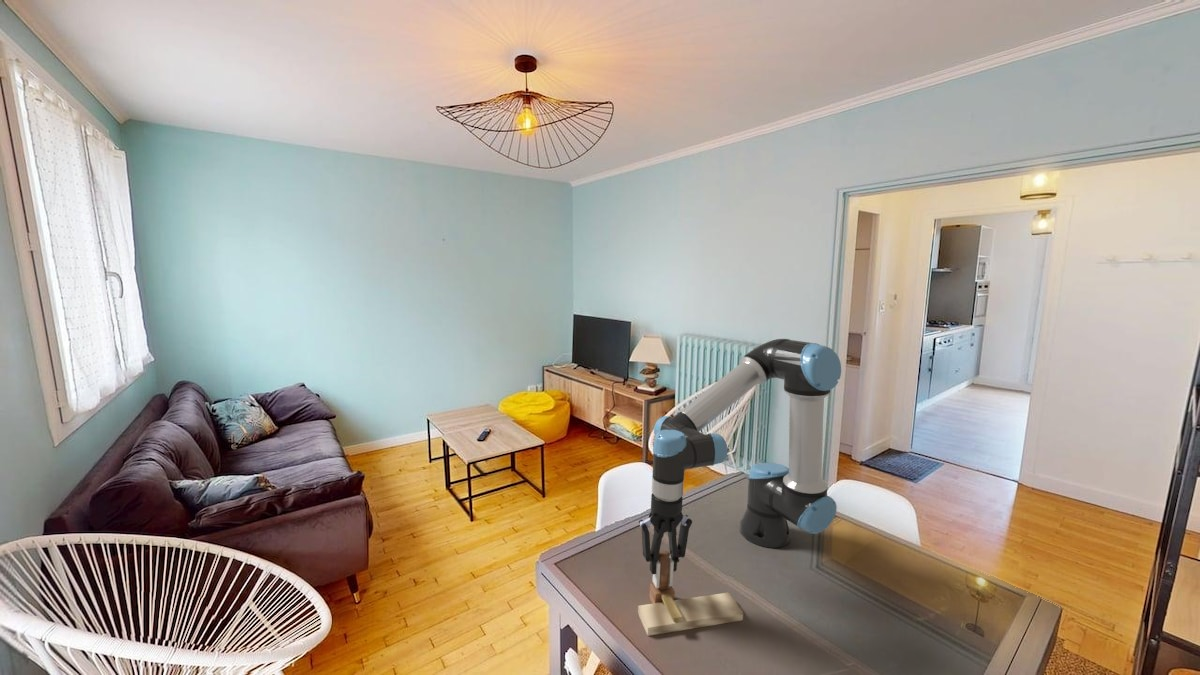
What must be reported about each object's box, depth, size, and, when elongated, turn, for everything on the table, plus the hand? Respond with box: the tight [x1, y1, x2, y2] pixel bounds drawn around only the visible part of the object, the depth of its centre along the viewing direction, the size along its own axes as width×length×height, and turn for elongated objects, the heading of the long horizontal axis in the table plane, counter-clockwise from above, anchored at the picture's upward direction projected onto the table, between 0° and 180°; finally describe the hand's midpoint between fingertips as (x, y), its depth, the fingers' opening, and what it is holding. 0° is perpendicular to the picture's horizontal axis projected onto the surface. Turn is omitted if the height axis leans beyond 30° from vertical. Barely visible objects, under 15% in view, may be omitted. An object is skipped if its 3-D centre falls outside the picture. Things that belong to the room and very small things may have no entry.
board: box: [637, 592, 744, 637], centre depth 106 cm, size 24×7×2 cm, turn 103°
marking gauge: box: [648, 549, 682, 622], centre depth 106 cm, size 5×12×13 cm, turn 13°
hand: (662, 583), depth 110 cm, fingers closed on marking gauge, 3 cm apart
